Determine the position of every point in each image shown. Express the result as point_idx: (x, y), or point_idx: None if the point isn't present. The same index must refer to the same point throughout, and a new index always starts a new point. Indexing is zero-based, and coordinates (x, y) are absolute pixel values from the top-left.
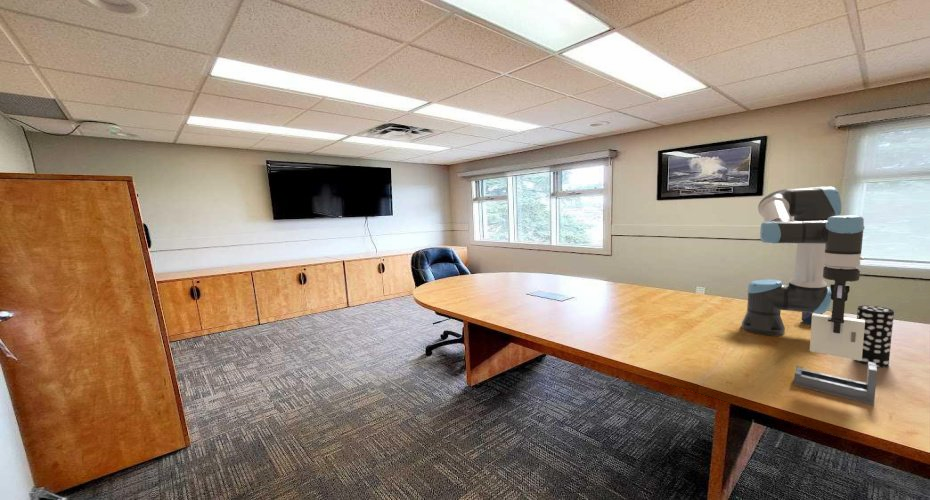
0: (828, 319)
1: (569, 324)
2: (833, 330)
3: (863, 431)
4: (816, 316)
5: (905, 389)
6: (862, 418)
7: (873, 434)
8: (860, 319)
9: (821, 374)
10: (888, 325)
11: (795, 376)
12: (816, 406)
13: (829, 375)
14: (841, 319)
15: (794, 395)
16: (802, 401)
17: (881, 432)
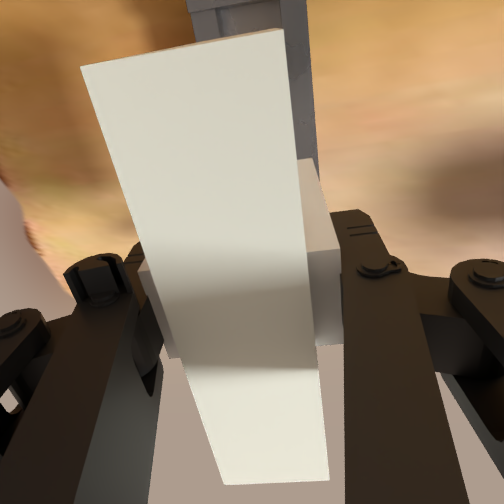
0: (94, 272)
1: None
2: (133, 250)
3: (34, 222)
4: (108, 132)
5: (446, 265)
6: (113, 211)
7: (42, 238)
8: (319, 463)
9: (291, 78)
10: None
11: None
12: (70, 105)
13: (304, 106)
14: (12, 415)
15: (89, 21)
16: (64, 60)
17: (72, 248)
